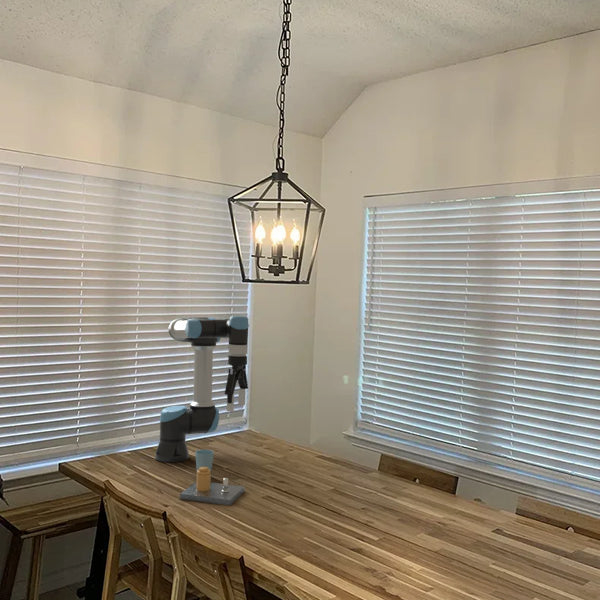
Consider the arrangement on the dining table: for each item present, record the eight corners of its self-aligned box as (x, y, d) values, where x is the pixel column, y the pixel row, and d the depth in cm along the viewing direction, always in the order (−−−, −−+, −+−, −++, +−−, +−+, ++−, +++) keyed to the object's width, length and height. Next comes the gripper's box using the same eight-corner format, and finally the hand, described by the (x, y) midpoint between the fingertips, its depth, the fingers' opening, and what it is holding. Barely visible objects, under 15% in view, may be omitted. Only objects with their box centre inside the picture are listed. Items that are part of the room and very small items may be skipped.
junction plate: (196, 485, 251) (197, 468, 251) (244, 491, 246) (244, 473, 246) (179, 498, 235) (180, 480, 235) (230, 505, 230) (230, 486, 230)
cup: (209, 472, 268) (209, 448, 268) (215, 478, 262) (216, 453, 261) (192, 475, 264) (192, 450, 264) (198, 480, 258) (199, 455, 257)
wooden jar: (199, 485, 245) (200, 465, 244) (212, 487, 243) (212, 467, 243) (194, 490, 240) (194, 469, 239) (206, 491, 238) (207, 470, 238)
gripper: (239, 351, 263) (237, 401, 263) (217, 357, 239) (215, 413, 239) (256, 352, 261) (254, 403, 262) (236, 359, 237) (234, 414, 237)
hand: (236, 408), depth 250 cm, fingers open, 13 cm apart
